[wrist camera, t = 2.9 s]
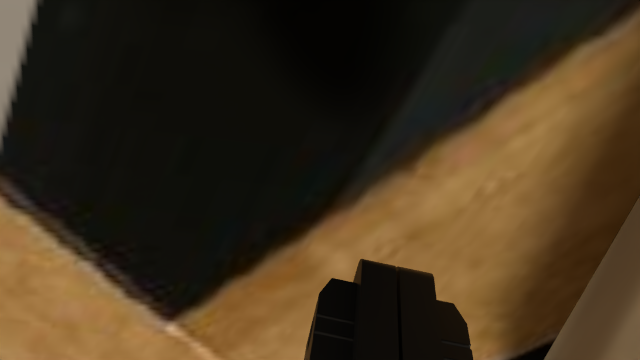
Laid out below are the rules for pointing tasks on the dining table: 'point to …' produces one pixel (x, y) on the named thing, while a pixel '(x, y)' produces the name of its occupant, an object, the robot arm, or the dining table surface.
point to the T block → (607, 305)
